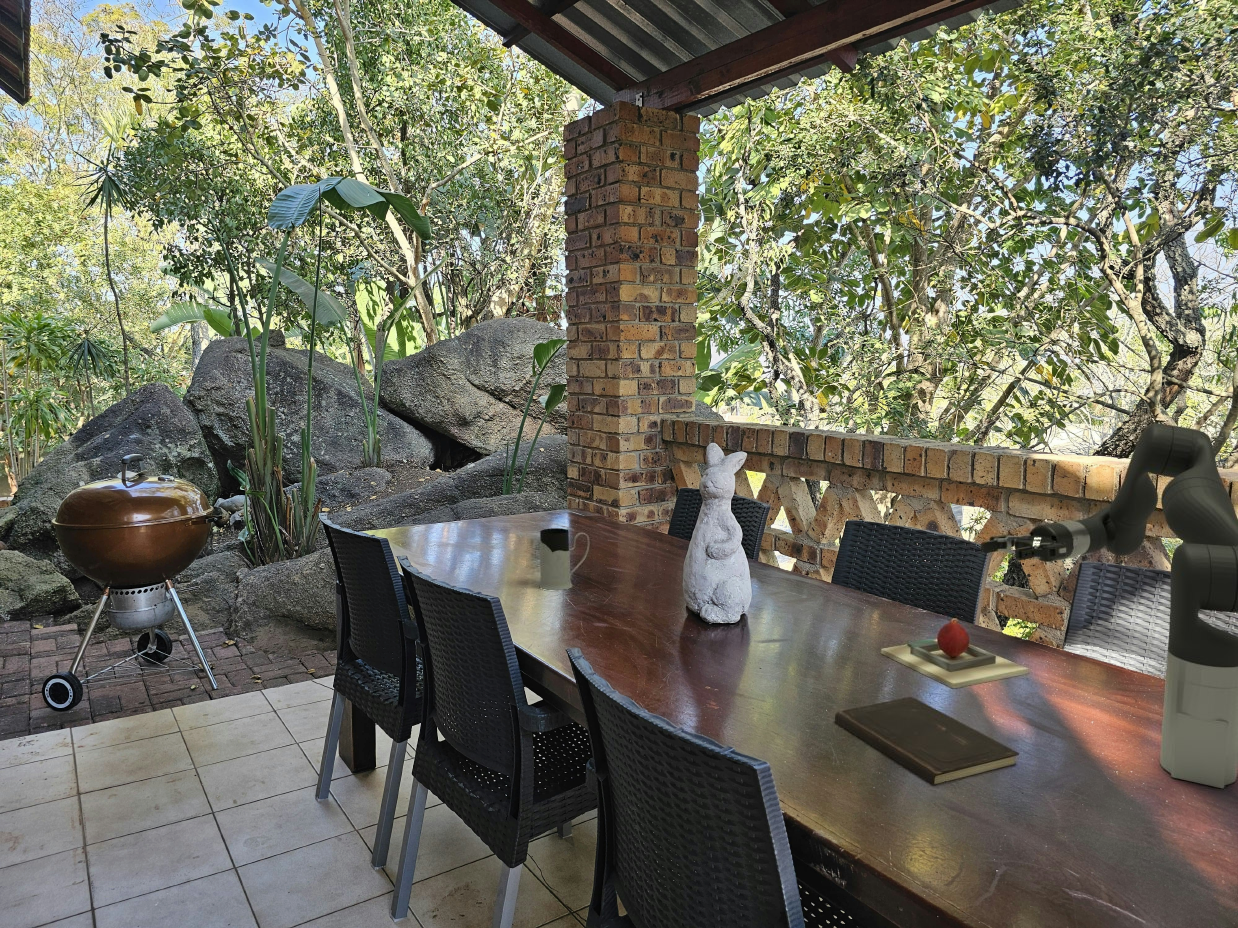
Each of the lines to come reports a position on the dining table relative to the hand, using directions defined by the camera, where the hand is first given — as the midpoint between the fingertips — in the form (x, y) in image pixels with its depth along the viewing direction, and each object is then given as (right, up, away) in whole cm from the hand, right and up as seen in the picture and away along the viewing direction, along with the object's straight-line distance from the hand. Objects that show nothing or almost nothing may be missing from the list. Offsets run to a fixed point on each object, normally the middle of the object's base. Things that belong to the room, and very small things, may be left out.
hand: (999, 551), depth 169 cm
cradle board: (-10, -22, -1) cm, 24 cm away
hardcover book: (-27, -27, -34) cm, 51 cm away
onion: (-10, -21, -1) cm, 23 cm away
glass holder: (-89, -15, +60) cm, 108 cm away
